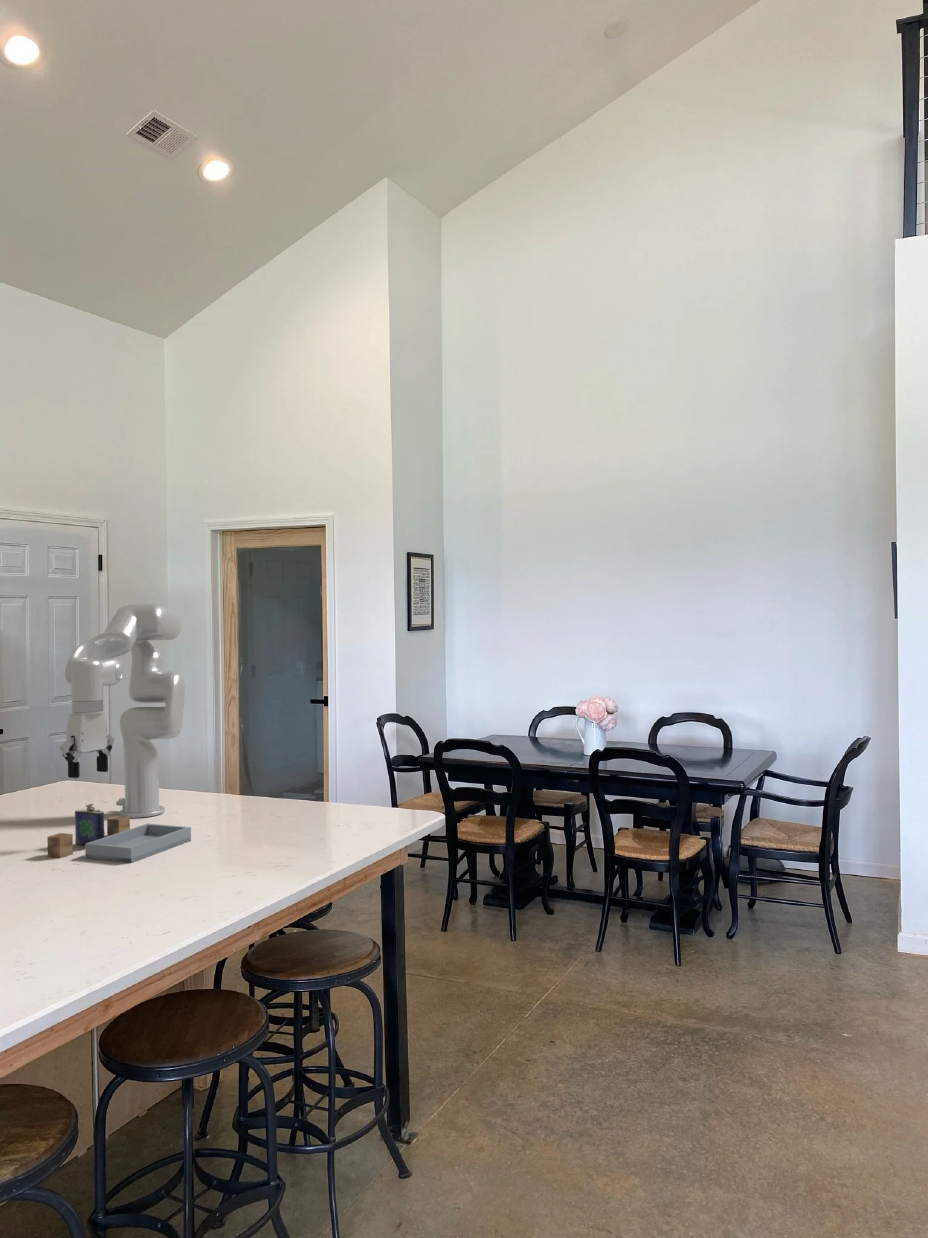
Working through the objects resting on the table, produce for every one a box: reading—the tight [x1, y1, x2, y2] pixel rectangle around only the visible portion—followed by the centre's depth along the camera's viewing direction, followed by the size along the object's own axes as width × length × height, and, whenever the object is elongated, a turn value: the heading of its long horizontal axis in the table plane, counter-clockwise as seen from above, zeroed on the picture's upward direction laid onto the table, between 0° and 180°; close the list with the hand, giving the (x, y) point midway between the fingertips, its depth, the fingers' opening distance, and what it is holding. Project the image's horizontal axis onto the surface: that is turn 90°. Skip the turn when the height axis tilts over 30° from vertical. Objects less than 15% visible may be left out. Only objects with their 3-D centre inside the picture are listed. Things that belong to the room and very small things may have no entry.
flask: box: [74, 802, 106, 847], centre depth 235 cm, size 9×3×11 cm, turn 65°
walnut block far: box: [106, 815, 131, 837], centre depth 244 cm, size 4×4×5 cm
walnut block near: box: [47, 832, 74, 859], centre depth 225 cm, size 4×4×5 cm
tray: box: [84, 823, 192, 864], centre depth 230 cm, size 14×22×4 cm, turn 158°
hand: (88, 774), depth 234 cm, fingers open, 9 cm apart
